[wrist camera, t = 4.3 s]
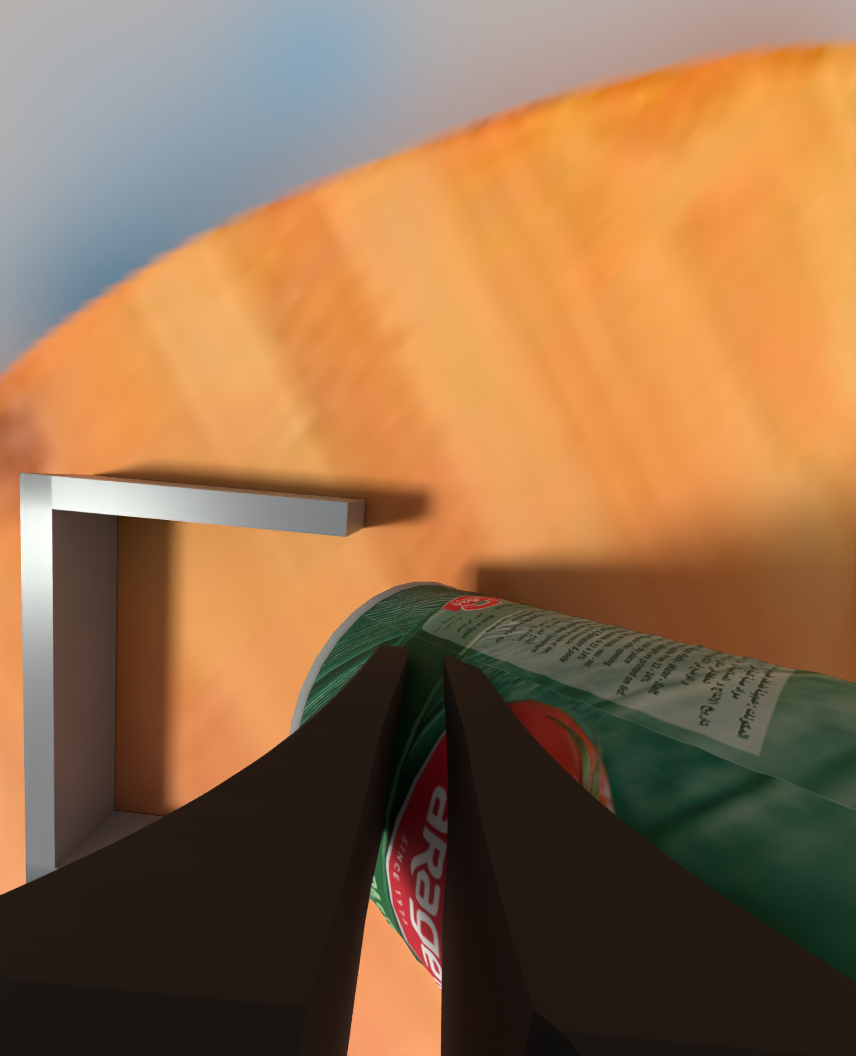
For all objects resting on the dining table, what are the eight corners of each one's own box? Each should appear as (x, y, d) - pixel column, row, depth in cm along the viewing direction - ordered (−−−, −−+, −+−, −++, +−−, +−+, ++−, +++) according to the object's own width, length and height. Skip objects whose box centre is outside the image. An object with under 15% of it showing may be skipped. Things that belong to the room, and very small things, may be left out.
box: (365, 499, 15) (347, 502, 12) (339, 862, 16) (319, 931, 14) (90, 474, 15) (20, 473, 13) (89, 830, 17) (26, 891, 14)
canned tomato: (224, 716, 9) (1369, 2229, 1) (446, 532, 14) (1028, 588, 6) (368, 898, 12) (974, 1680, 4) (513, 700, 17) (953, 898, 9)
